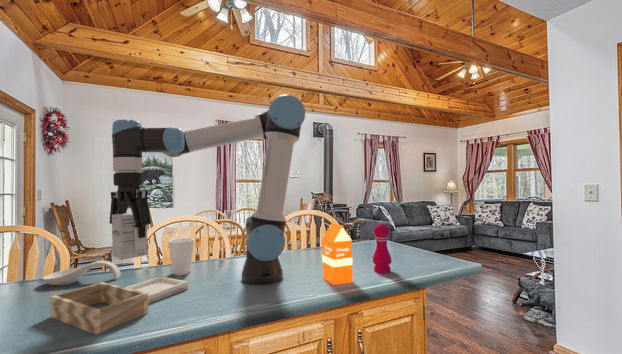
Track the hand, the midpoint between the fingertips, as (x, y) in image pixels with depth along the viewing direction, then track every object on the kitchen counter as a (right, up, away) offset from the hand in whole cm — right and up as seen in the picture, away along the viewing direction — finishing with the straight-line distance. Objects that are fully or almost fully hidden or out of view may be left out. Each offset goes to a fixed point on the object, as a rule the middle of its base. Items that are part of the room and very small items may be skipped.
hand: (130, 248), depth 90 cm
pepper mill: (+82, -16, +28) cm, 88 cm away
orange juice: (+64, -16, +19) cm, 68 cm away
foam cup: (+2, -17, +31) cm, 35 cm away
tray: (+3, -17, +9) cm, 19 cm away
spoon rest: (-31, -18, +22) cm, 42 cm away
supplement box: (0, -3, 0) cm, 3 cm away
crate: (-3, -16, -8) cm, 19 cm away
